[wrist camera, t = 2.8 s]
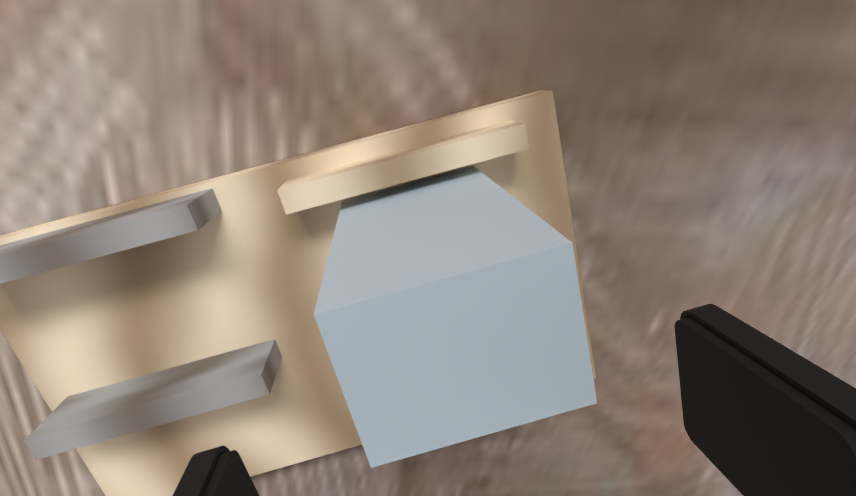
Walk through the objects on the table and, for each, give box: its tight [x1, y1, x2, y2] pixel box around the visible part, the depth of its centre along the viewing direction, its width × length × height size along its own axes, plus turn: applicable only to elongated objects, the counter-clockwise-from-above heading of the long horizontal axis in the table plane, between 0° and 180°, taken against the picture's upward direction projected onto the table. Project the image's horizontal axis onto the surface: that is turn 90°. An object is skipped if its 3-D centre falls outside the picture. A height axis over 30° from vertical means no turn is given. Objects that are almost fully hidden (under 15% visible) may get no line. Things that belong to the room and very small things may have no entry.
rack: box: [0, 90, 596, 496], centre depth 22 cm, size 26×15×4 cm, turn 104°
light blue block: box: [314, 166, 597, 468], centre depth 17 cm, size 6×4×11 cm
